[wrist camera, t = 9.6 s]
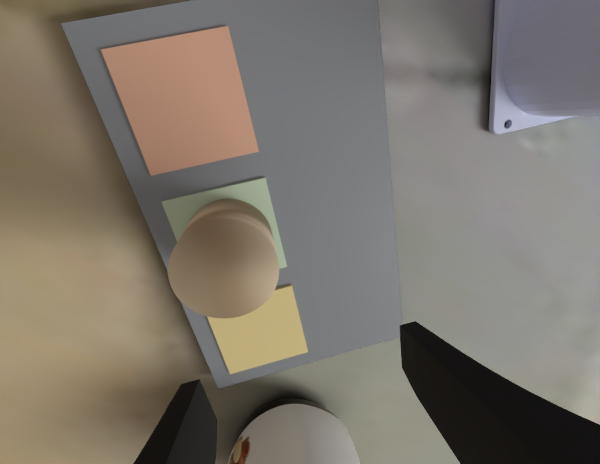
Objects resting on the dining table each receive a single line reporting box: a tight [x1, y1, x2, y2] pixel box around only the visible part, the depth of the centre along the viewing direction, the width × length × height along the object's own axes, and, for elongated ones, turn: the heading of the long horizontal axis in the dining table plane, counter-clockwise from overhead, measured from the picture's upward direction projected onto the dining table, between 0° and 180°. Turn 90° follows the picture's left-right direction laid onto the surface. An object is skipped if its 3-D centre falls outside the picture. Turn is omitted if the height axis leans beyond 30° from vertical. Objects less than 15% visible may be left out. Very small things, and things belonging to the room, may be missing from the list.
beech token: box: [168, 199, 279, 318], centre depth 15 cm, size 5×5×4 cm
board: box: [61, 0, 403, 389], centre depth 17 cm, size 14×22×1 cm, turn 11°
